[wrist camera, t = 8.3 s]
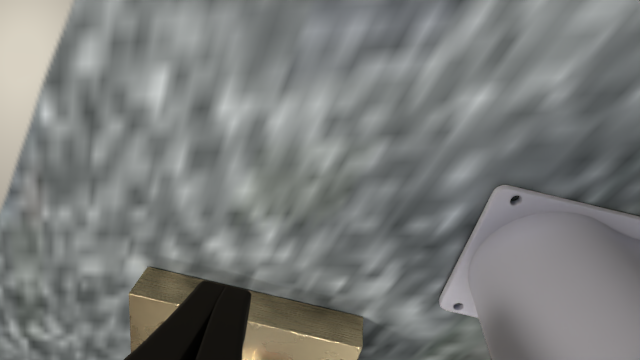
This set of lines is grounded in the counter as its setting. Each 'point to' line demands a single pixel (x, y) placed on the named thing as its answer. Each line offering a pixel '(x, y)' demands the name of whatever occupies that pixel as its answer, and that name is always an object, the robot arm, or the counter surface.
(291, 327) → the oven controls
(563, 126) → the counter surface
